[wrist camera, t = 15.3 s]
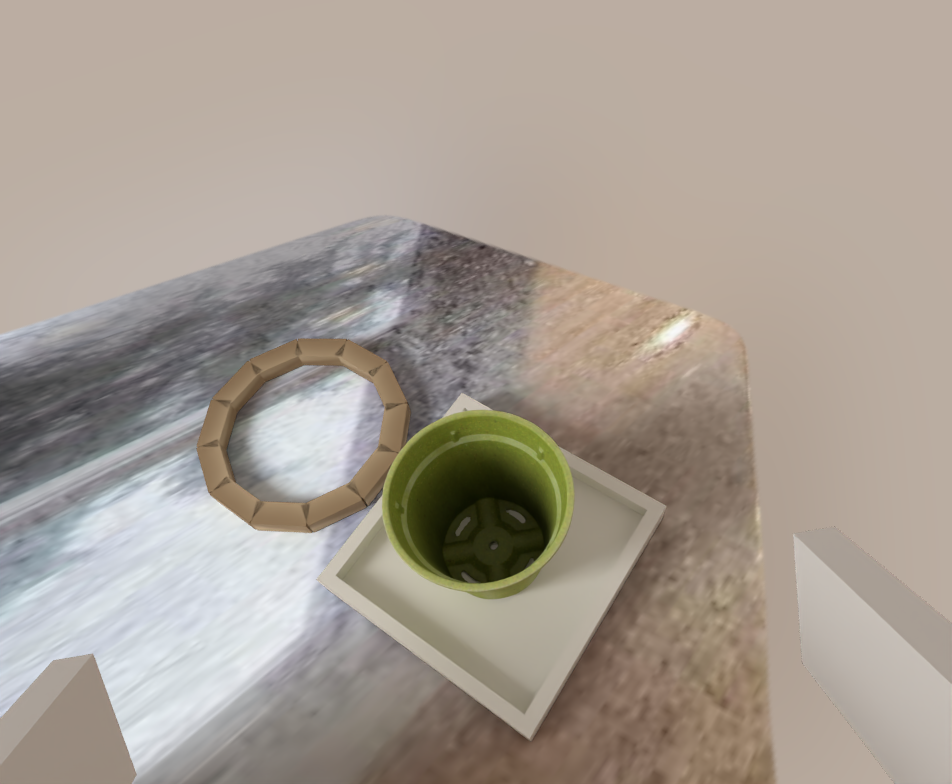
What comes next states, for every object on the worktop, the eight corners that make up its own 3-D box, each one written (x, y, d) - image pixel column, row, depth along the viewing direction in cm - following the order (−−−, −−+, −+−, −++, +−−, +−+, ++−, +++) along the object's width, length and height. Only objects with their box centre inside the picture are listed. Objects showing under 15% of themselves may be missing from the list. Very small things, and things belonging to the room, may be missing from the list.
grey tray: (326, 588, 42) (316, 579, 40) (465, 407, 47) (461, 392, 46) (531, 741, 37) (529, 738, 35) (662, 518, 42) (666, 505, 40)
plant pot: (518, 666, 38) (506, 631, 30) (383, 574, 41) (343, 523, 34) (602, 525, 41) (610, 463, 34) (471, 451, 45) (452, 380, 37)
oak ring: (166, 463, 48) (157, 455, 47) (301, 319, 53) (295, 310, 52) (315, 573, 43) (309, 568, 42) (449, 403, 48) (446, 394, 47)
